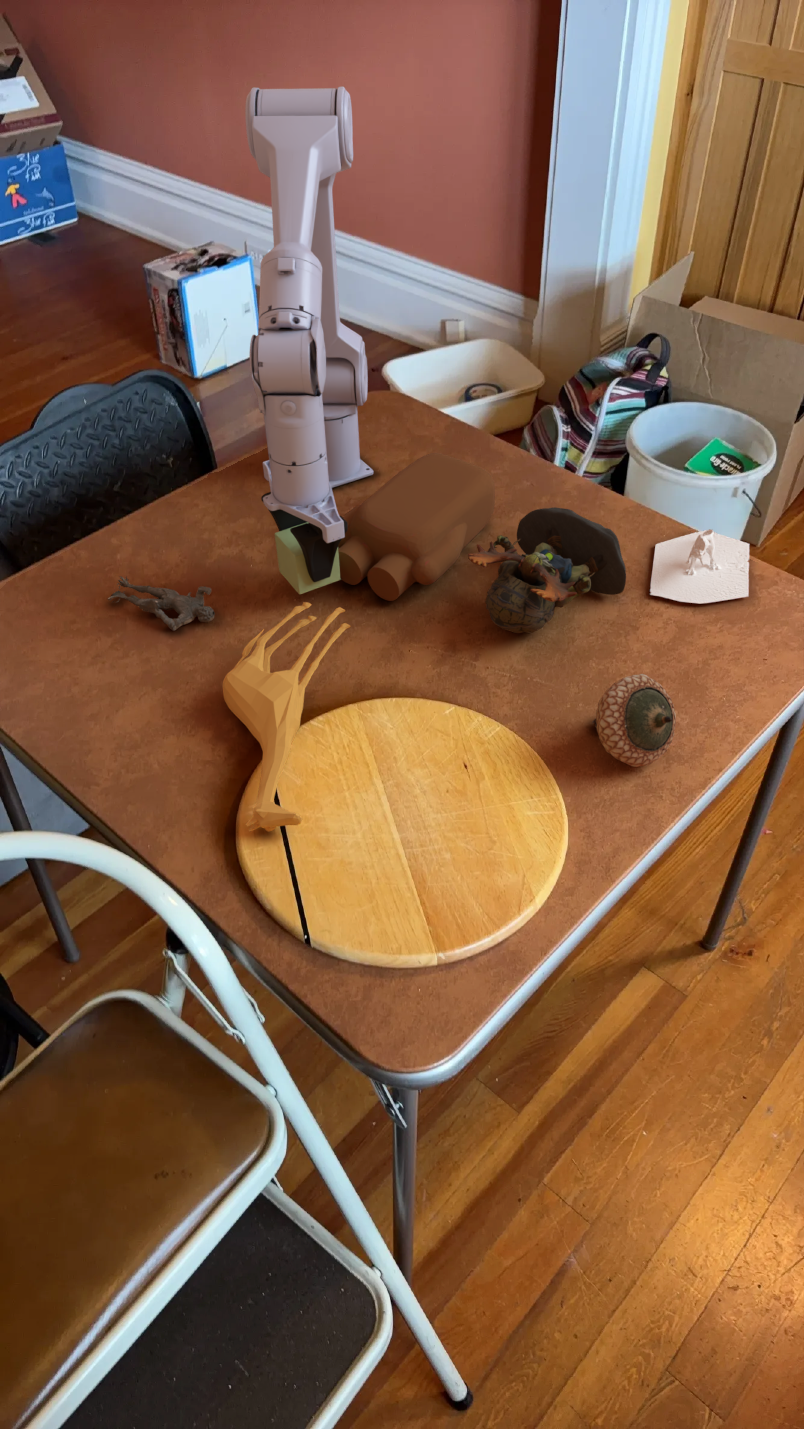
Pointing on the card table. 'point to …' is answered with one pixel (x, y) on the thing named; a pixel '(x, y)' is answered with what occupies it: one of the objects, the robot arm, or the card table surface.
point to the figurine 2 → (550, 567)
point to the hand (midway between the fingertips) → (308, 564)
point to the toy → (416, 524)
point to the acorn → (636, 720)
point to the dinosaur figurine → (701, 568)
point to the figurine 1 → (170, 603)
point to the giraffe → (273, 709)
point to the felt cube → (299, 563)
